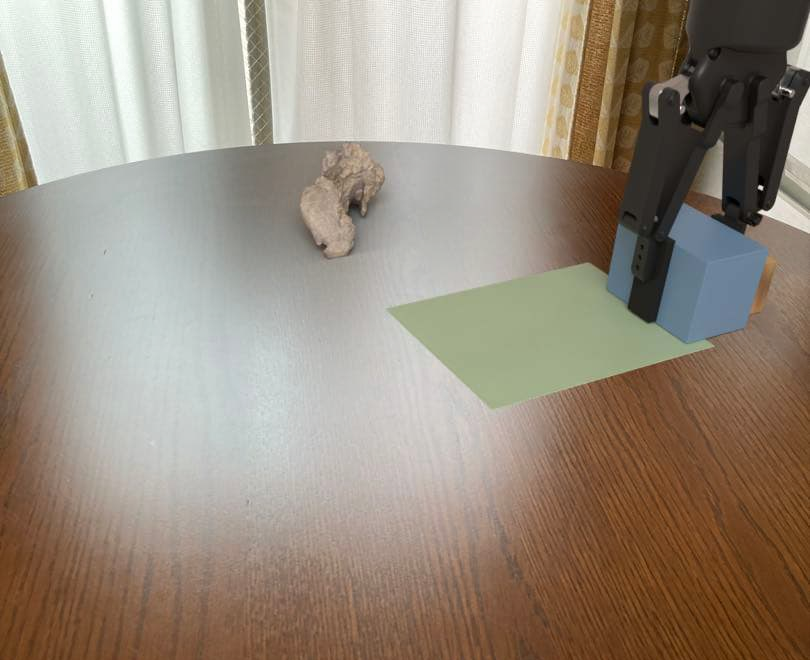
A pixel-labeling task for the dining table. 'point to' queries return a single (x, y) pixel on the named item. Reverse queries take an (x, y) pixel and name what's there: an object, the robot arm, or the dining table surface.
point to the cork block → (763, 285)
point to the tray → (538, 334)
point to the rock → (340, 196)
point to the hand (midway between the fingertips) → (674, 305)
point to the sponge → (698, 276)
